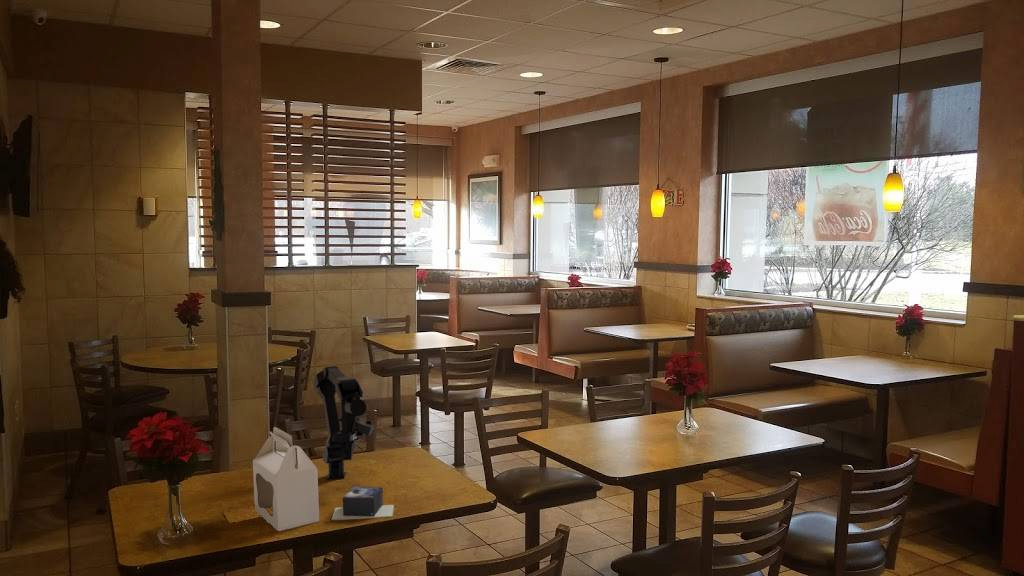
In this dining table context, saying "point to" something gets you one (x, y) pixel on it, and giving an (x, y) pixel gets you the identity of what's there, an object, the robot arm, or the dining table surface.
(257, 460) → the gable box
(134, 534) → the dining table surface
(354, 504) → the small box
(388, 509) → the mat
